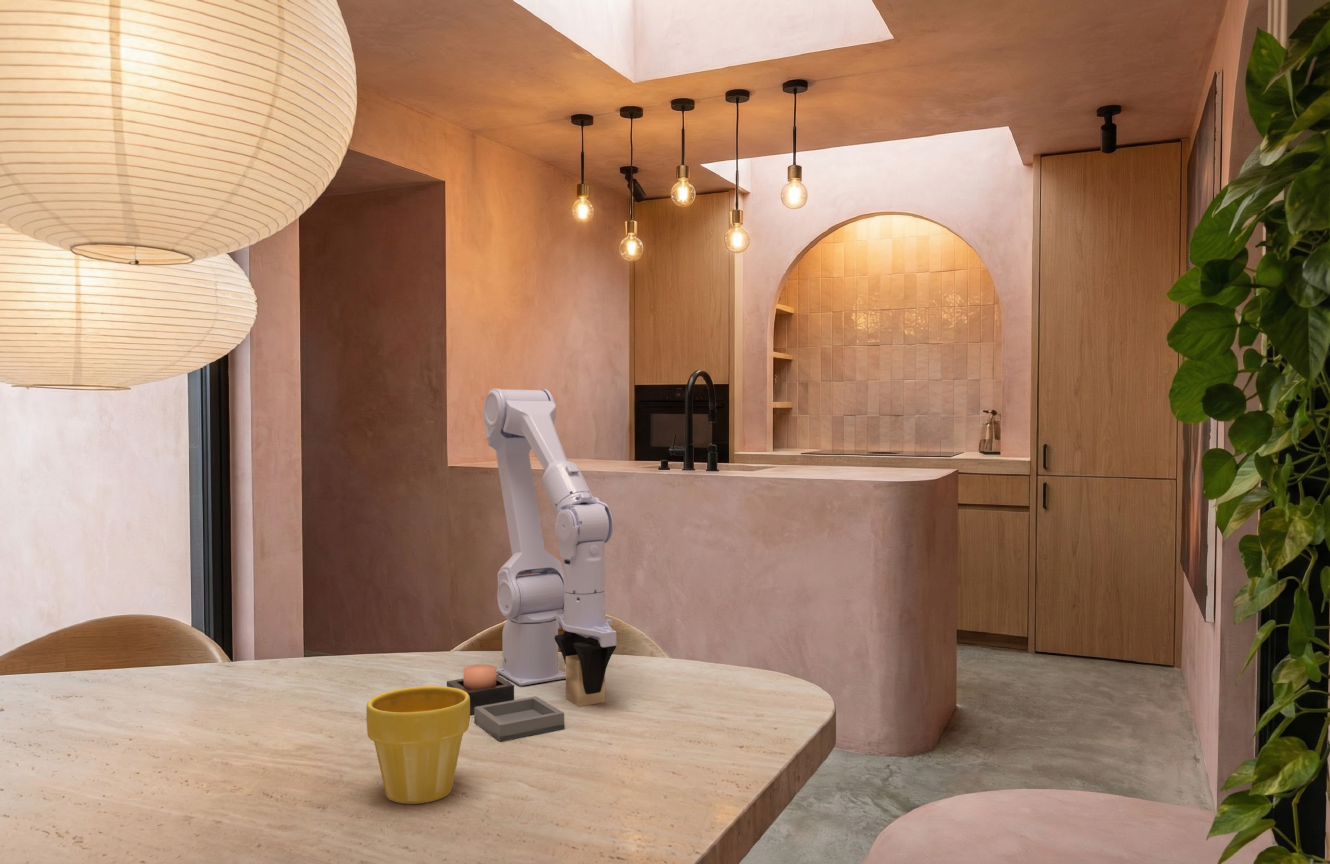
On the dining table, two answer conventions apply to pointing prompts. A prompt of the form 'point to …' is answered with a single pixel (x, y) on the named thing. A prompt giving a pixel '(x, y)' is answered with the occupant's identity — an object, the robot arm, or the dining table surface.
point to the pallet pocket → (518, 718)
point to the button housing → (486, 693)
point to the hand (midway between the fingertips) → (585, 688)
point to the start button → (479, 676)
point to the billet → (579, 684)
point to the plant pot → (418, 740)
